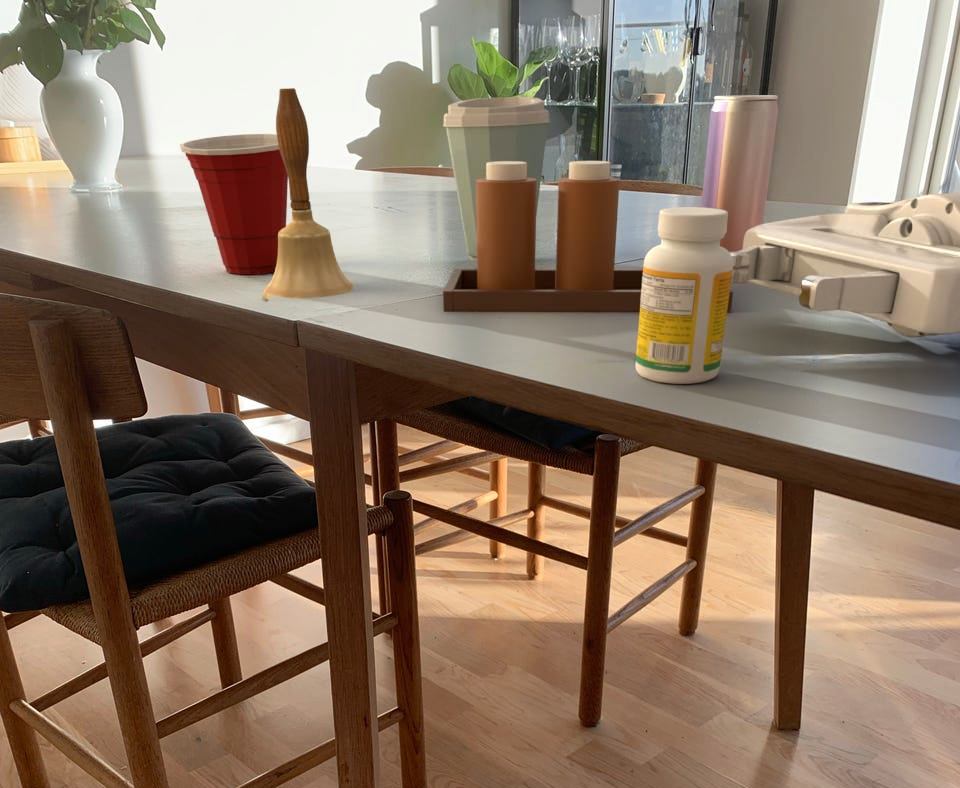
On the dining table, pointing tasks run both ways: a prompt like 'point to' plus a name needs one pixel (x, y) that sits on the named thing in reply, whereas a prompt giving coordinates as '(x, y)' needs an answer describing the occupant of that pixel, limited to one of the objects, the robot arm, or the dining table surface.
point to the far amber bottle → (506, 227)
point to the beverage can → (739, 162)
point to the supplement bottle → (684, 297)
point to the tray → (545, 295)
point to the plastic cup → (242, 197)
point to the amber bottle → (586, 227)
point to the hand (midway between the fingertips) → (760, 280)
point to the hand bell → (301, 219)
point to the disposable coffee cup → (492, 146)
